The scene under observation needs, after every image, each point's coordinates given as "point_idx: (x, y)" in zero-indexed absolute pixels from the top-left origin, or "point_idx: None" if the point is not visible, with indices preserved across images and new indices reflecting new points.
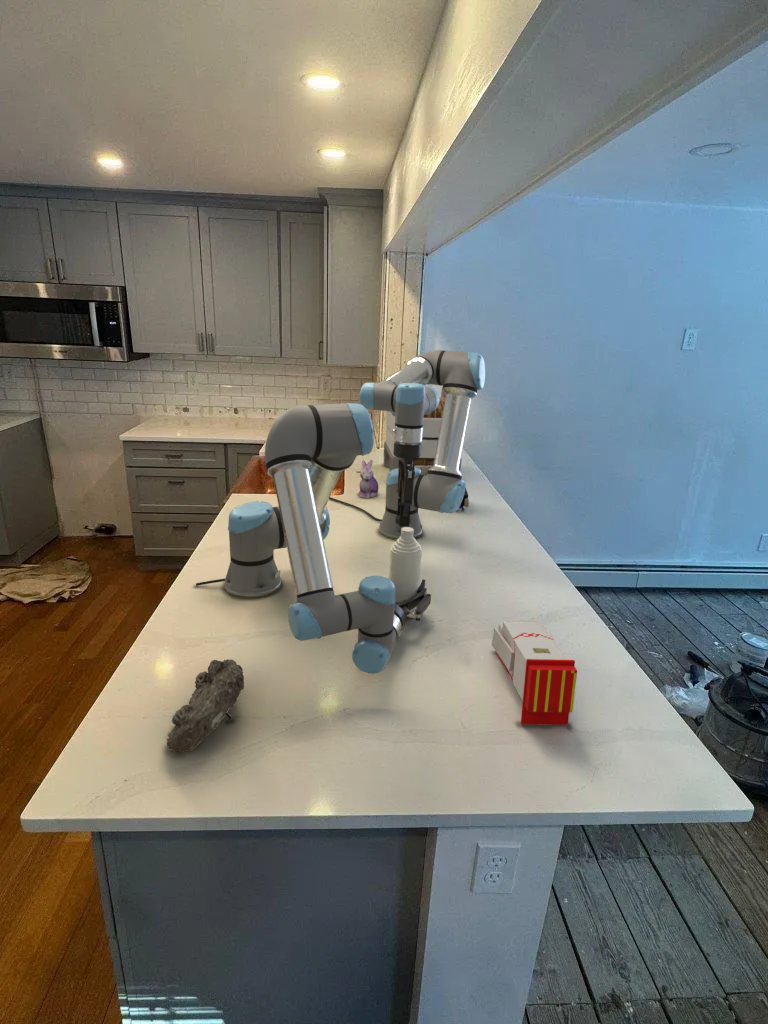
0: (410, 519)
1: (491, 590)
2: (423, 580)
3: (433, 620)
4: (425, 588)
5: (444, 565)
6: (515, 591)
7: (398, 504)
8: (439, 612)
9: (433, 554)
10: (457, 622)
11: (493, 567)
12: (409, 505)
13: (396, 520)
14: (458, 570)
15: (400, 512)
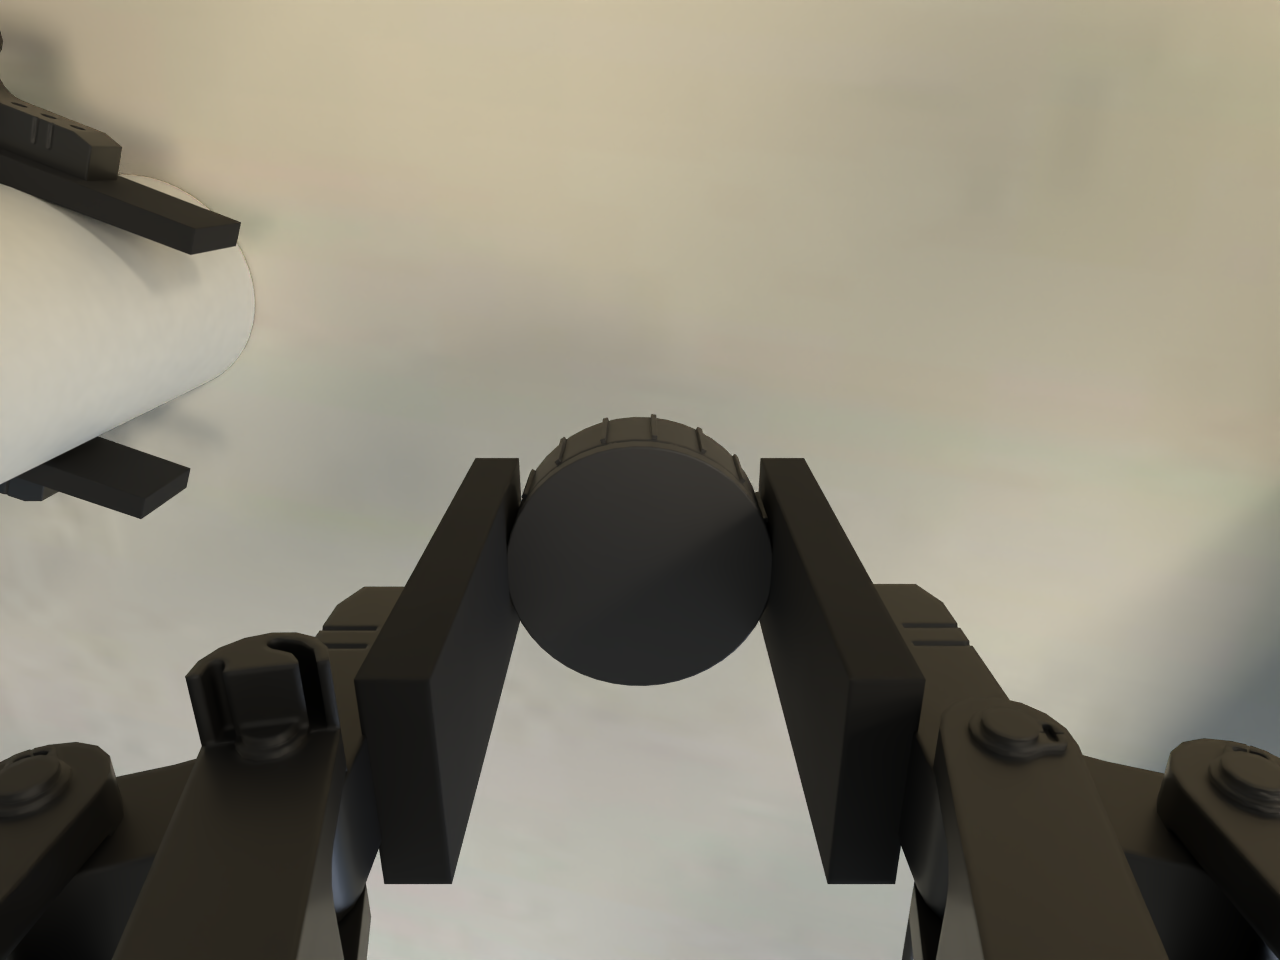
0: (602, 667)
1: (483, 850)
2: (124, 501)
3: None
4: (31, 492)
5: None
6: (476, 951)
7: (816, 607)
8: (174, 523)
9: (1039, 646)
10: (72, 598)
11: (782, 930)
12: (387, 848)
13: (586, 443)
14: (758, 745)
15: (414, 573)
